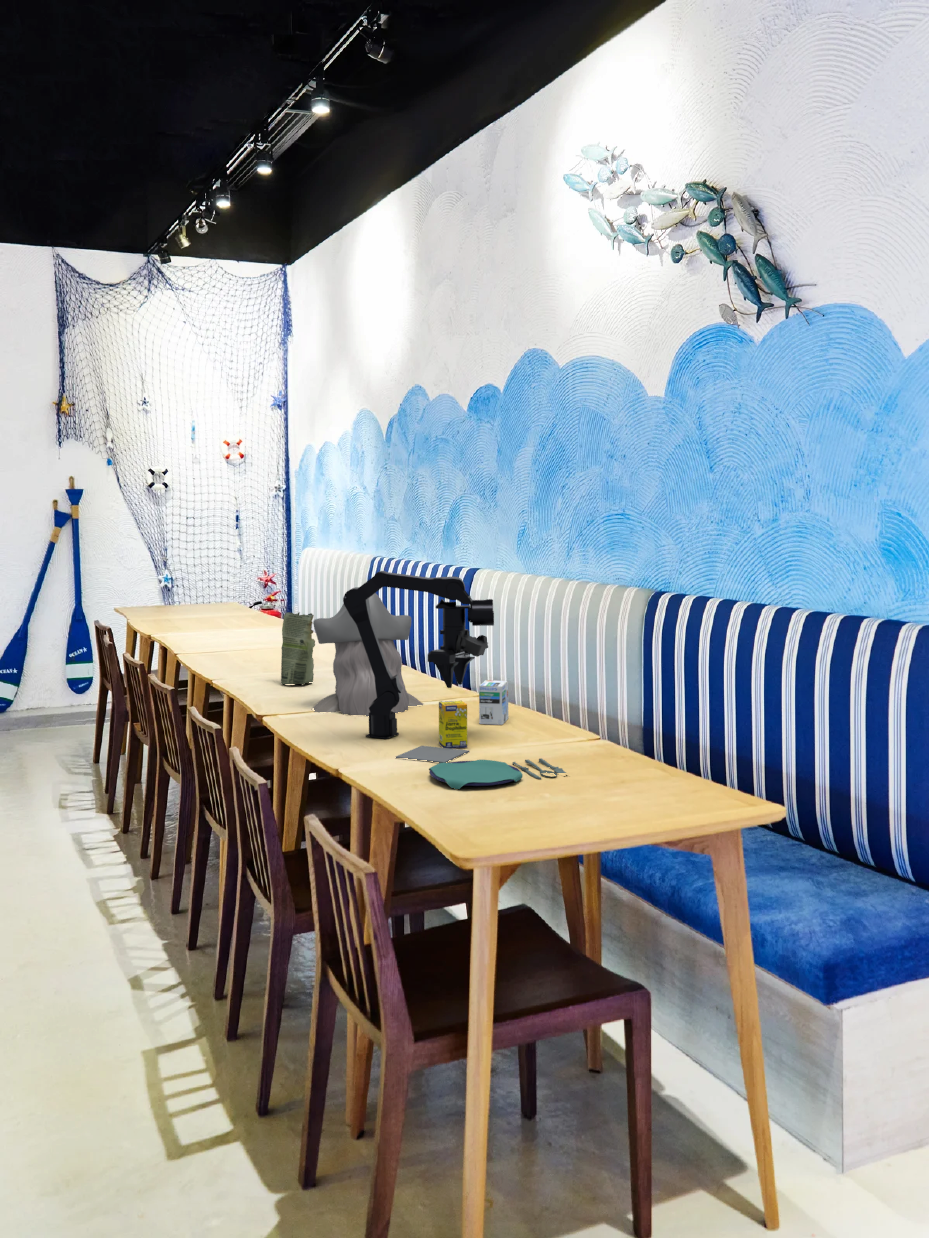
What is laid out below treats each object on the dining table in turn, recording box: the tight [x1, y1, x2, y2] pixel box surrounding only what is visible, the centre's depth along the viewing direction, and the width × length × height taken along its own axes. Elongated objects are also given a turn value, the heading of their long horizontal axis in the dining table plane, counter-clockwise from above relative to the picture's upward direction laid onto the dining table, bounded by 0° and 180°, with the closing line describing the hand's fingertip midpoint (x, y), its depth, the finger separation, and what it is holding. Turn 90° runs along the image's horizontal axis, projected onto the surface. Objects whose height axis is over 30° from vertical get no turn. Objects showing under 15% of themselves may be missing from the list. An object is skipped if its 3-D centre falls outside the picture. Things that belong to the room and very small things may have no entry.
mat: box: [395, 745, 470, 764], centre depth 244 cm, size 13×13×1 cm
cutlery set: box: [428, 757, 567, 790], centre depth 224 cm, size 20×30×2 cm, turn 110°
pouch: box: [280, 611, 316, 685], centre depth 349 cm, size 11×12×25 cm
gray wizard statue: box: [312, 592, 424, 717], centre depth 307 cm, size 34×34×35 cm
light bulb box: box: [478, 679, 509, 726], centre depth 284 cm, size 11×7×11 cm, turn 168°
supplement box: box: [438, 700, 468, 749], centre depth 253 cm, size 6×6×11 cm
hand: (454, 686), depth 264 cm, fingers open, 6 cm apart
